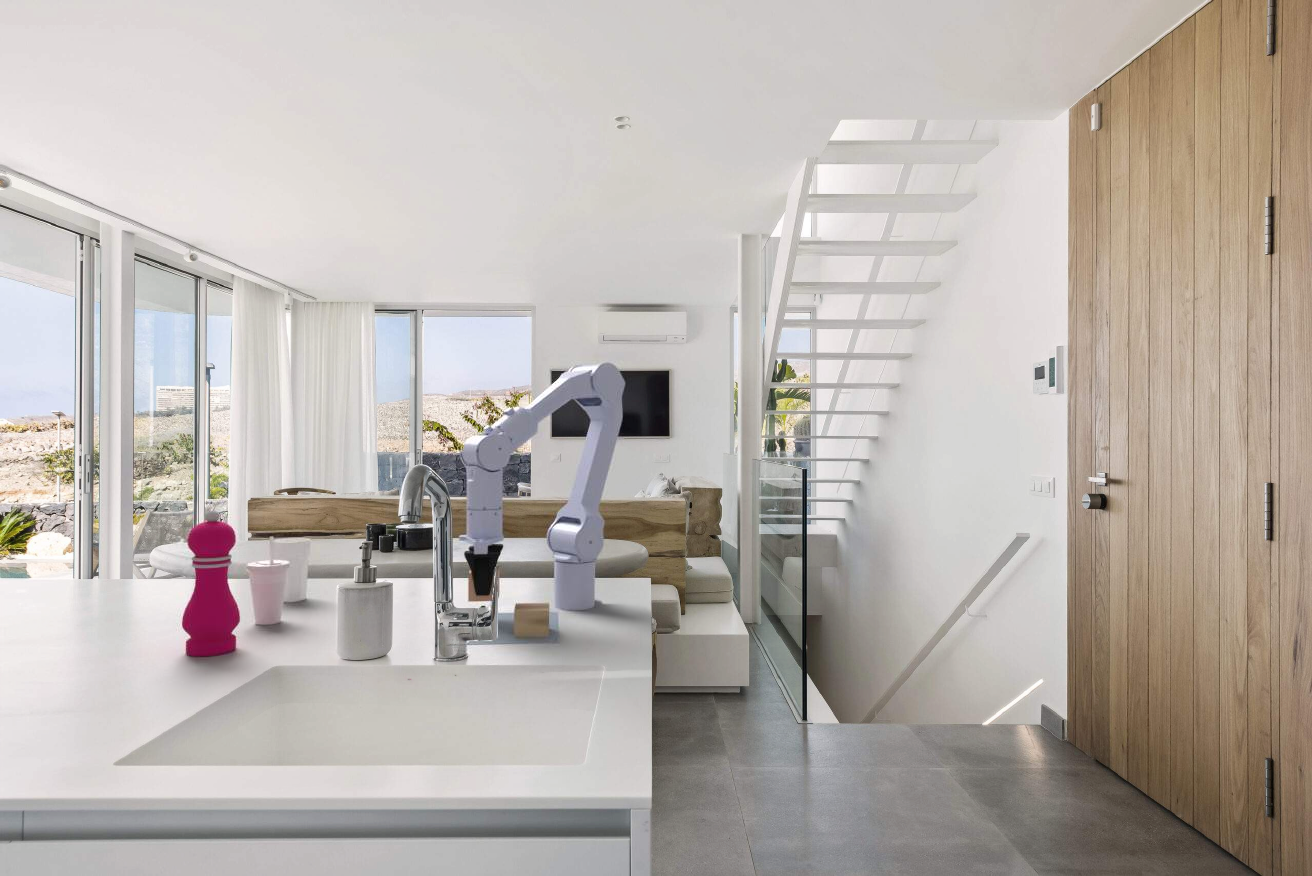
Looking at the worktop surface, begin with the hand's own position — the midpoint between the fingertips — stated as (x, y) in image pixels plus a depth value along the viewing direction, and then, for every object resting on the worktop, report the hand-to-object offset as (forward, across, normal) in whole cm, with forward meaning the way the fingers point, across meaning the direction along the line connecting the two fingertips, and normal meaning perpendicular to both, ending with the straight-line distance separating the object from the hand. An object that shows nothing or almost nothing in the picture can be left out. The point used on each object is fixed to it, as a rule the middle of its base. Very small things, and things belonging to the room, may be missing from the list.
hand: (484, 591), depth 131 cm
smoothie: (+6, -5, -35) cm, 36 cm away
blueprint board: (+5, +5, +4) cm, 8 cm away
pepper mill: (+5, +12, -37) cm, 39 cm away
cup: (+6, -23, -37) cm, 44 cm away
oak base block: (+5, +9, +8) cm, 13 cm away
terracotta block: (+1, 0, 0) cm, 1 cm away
